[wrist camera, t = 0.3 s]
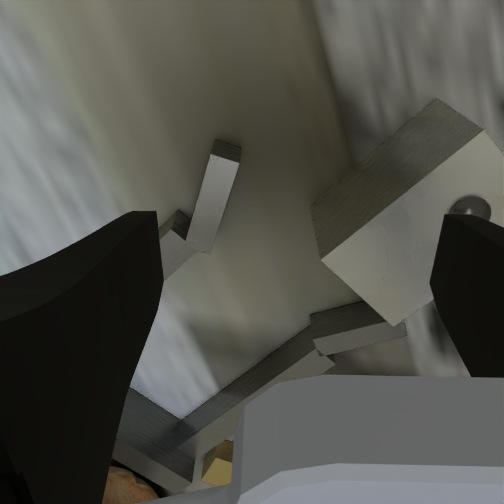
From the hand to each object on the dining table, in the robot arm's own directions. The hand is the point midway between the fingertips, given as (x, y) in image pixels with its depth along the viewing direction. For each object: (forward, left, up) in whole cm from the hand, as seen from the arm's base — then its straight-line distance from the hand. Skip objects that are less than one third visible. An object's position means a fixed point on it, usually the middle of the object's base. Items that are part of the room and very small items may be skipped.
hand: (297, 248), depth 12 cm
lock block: (-5, -2, -10) cm, 12 cm away
